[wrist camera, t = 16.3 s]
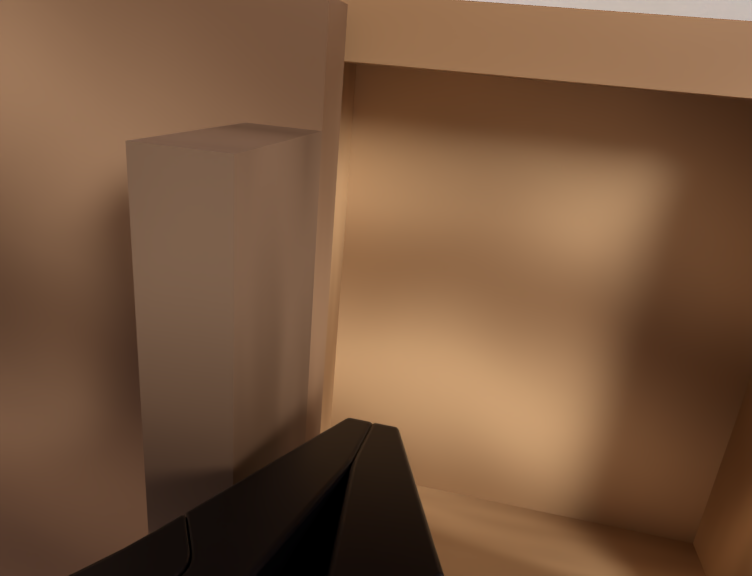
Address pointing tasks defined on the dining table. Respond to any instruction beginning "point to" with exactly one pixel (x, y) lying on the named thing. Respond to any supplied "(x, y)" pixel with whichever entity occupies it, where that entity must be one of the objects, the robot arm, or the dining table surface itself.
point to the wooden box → (551, 280)
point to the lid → (158, 258)
